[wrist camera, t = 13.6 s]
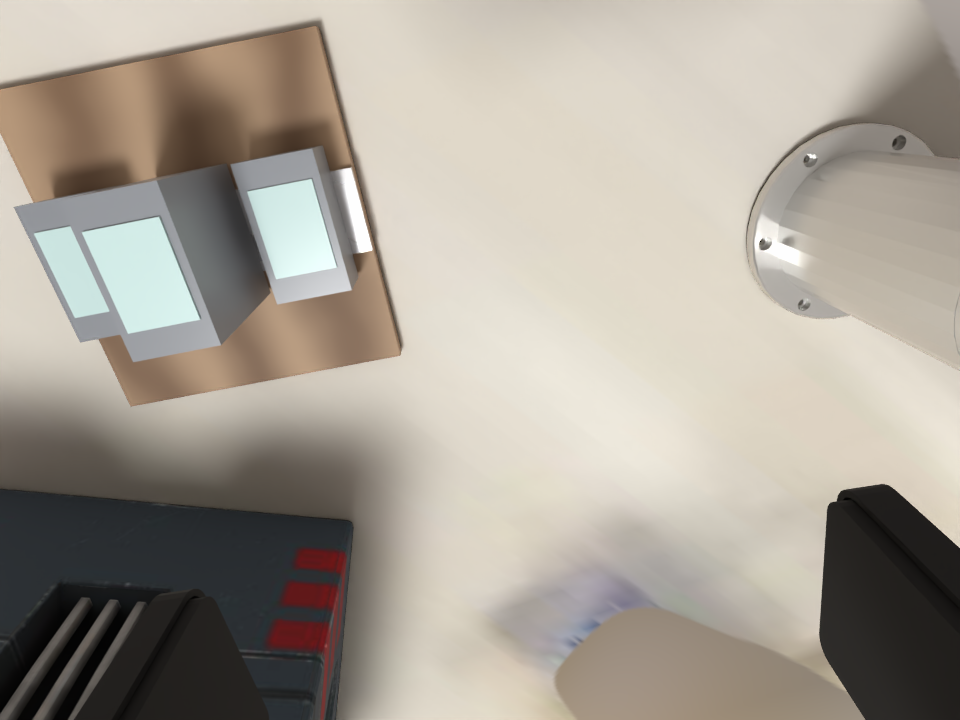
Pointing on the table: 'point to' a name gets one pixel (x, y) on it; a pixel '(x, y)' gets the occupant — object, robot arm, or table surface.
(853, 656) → the robot arm
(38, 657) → the power unit
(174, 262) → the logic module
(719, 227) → the table surface
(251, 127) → the board
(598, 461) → the table surface
